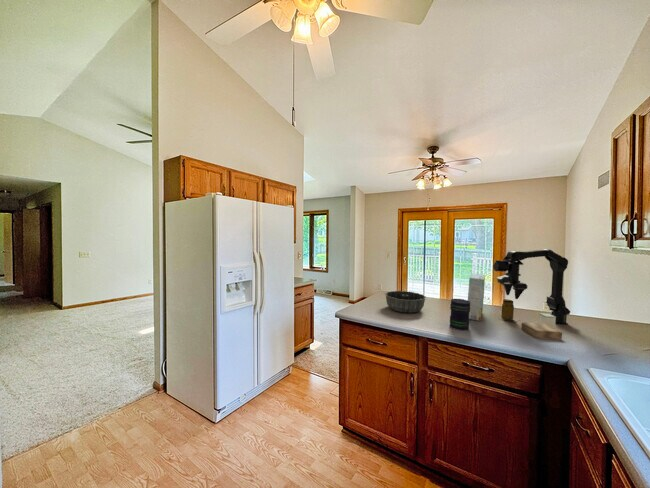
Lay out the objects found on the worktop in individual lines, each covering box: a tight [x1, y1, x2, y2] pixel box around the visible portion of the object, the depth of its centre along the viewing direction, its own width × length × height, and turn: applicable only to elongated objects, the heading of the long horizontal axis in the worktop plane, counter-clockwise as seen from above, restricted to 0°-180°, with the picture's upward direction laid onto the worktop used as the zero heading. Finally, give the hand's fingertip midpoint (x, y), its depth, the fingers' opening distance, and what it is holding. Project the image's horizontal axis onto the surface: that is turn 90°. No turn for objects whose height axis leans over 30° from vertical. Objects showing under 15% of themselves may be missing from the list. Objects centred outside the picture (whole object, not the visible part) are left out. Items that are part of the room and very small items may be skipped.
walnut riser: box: [521, 322, 563, 341], centre depth 139 cm, size 12×12×4 cm
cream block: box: [538, 313, 556, 329], centre depth 150 cm, size 5×5×7 cm
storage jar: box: [449, 298, 471, 331], centre depth 147 cm, size 10×10×15 cm
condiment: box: [498, 298, 519, 323], centre depth 161 cm, size 7×8×12 cm
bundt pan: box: [384, 290, 427, 314], centre depth 178 cm, size 26×26×10 cm
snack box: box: [467, 273, 486, 322], centre depth 167 cm, size 22×9×26 cm, turn 148°
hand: (511, 297), depth 160 cm, fingers open, 9 cm apart
